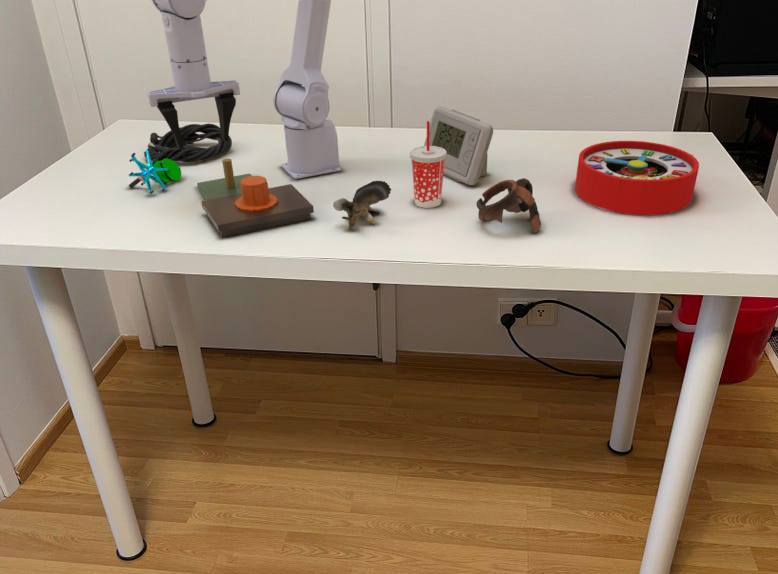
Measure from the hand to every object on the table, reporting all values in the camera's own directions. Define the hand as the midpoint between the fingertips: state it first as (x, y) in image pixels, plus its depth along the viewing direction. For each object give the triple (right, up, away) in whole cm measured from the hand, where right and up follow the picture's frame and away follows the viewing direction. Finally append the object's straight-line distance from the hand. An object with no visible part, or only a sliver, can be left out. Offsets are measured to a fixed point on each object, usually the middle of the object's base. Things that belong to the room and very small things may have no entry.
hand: (202, 143), depth 125 cm
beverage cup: (+38, -9, +3) cm, 39 cm away
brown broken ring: (+52, -14, -4) cm, 54 cm away
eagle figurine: (+27, -14, -3) cm, 31 cm away
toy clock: (+74, -7, +6) cm, 75 cm away
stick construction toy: (-12, -5, +12) cm, 18 cm away
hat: (+9, -11, -2) cm, 14 cm away
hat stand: (+3, -6, +9) cm, 11 cm away
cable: (-9, +5, +26) cm, 28 cm away
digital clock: (+44, -1, +15) cm, 46 cm away
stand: (+9, -13, -1) cm, 16 cm away
